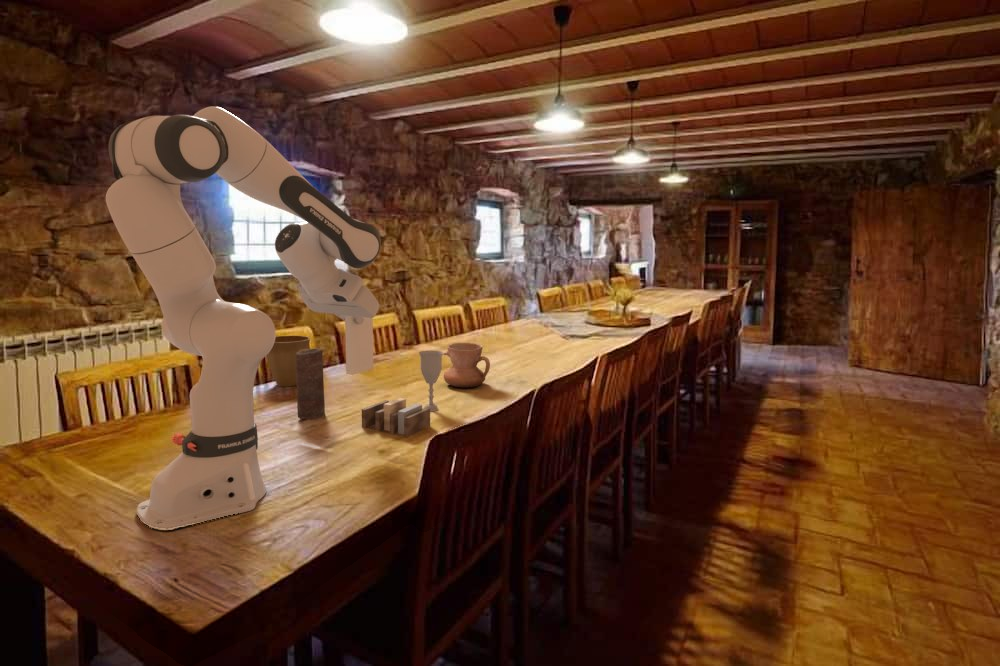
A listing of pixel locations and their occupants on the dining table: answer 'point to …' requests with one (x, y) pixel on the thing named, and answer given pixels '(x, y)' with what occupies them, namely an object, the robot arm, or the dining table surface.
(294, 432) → the dining table surface
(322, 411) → the dark stone block
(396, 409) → the offcut
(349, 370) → the tall board
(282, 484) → the dining table surface
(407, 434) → the rack
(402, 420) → the offcut
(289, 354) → the plant pot
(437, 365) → the chalice
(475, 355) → the ceramic jug
